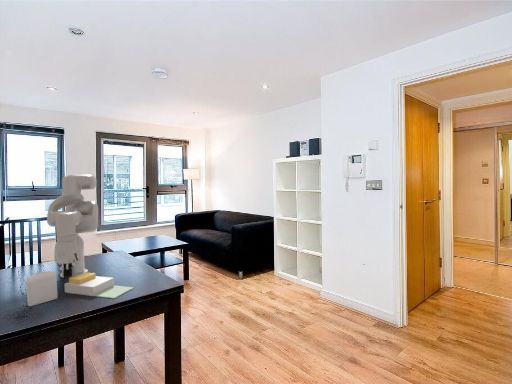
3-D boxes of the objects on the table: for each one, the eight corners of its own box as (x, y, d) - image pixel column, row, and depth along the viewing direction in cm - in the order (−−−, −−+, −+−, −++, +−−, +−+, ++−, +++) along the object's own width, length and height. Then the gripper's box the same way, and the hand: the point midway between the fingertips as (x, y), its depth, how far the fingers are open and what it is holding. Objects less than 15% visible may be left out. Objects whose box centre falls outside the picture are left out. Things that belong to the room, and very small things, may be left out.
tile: (69, 282, 130) (69, 278, 130) (85, 276, 139) (85, 272, 139) (79, 284, 128) (79, 279, 128) (95, 277, 137) (95, 273, 137)
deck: (64, 292, 129) (64, 283, 129) (87, 283, 141) (86, 275, 140) (93, 296, 125) (93, 287, 124) (114, 286, 136) (113, 277, 136)
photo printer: (28, 307, 114) (27, 277, 114) (26, 304, 117) (24, 274, 116) (59, 299, 122) (57, 270, 121) (55, 296, 125) (54, 268, 124)
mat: (94, 296, 125) (93, 295, 125) (114, 286, 136) (114, 285, 136) (114, 298, 122) (114, 297, 122) (133, 288, 133) (133, 287, 133)
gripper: (46, 239, 134) (48, 278, 134) (71, 241, 129) (73, 281, 130) (61, 236, 141) (63, 273, 142) (85, 237, 137) (87, 275, 137)
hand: (67, 276), depth 136 cm, fingers closed
